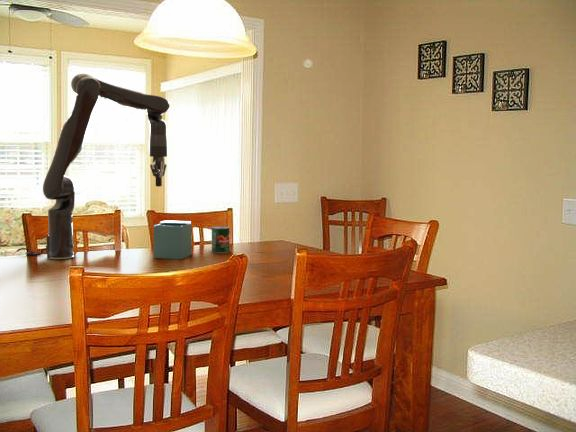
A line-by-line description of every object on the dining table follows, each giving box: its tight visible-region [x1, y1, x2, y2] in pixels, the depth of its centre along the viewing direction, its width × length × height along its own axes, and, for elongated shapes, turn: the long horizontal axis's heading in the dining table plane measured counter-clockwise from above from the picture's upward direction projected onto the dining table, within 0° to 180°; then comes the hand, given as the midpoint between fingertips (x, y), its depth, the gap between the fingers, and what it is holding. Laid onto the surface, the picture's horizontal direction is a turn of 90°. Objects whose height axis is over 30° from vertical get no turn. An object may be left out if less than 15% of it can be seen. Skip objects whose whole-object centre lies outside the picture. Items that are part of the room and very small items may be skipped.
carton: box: [153, 222, 192, 260], centre depth 252 cm, size 12×12×14 cm
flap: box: [158, 220, 192, 224], centre depth 255 cm, size 12×6×1 cm, turn 80°
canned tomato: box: [211, 225, 231, 254], centre depth 266 cm, size 8×8×11 cm
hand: (158, 186), depth 256 cm, fingers closed
